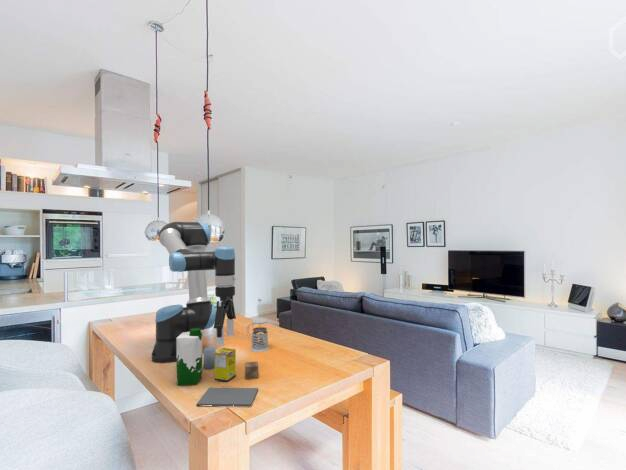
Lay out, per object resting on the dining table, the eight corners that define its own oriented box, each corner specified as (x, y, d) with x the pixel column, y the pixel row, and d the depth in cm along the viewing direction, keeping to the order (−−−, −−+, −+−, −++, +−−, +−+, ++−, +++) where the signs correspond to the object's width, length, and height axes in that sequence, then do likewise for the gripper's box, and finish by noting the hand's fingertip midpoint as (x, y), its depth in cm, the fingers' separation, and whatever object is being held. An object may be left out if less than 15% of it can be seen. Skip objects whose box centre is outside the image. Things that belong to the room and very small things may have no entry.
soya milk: (198, 385, 124) (198, 332, 124) (173, 386, 123) (173, 332, 124) (204, 376, 133) (204, 326, 133) (181, 377, 132) (181, 326, 132)
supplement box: (236, 376, 133) (236, 348, 133) (227, 382, 127) (227, 353, 127) (223, 374, 135) (223, 347, 135) (214, 380, 129) (214, 352, 129)
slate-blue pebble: (201, 369, 140) (201, 350, 140) (205, 365, 145) (205, 346, 145) (213, 369, 139) (213, 350, 140) (217, 365, 144) (217, 346, 145)
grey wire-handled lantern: (265, 352, 161) (265, 300, 161) (243, 350, 163) (243, 299, 163) (272, 346, 170) (272, 297, 171) (251, 344, 173) (250, 296, 173)
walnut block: (245, 379, 129) (245, 367, 130) (245, 374, 134) (245, 362, 134) (258, 378, 131) (258, 365, 131) (257, 373, 135) (257, 361, 136)
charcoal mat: (196, 406, 109) (196, 403, 109) (209, 389, 121) (209, 387, 121) (251, 406, 108) (251, 404, 108) (258, 390, 120) (258, 387, 120)
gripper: (225, 290, 119) (225, 350, 118) (242, 282, 144) (242, 331, 143) (204, 290, 119) (204, 350, 118) (225, 282, 144) (225, 331, 143)
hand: (225, 340), depth 131 cm, fingers open, 13 cm apart
